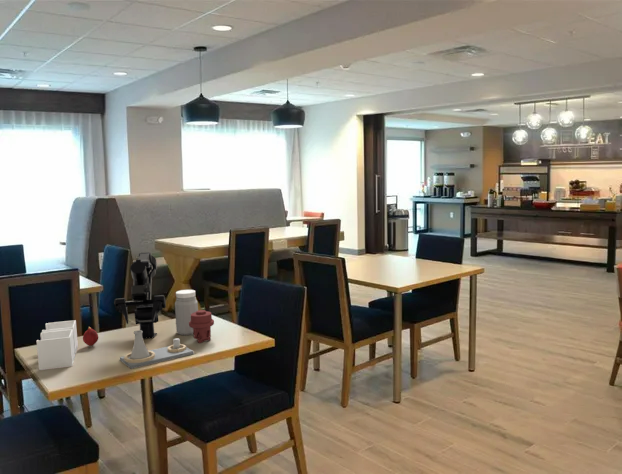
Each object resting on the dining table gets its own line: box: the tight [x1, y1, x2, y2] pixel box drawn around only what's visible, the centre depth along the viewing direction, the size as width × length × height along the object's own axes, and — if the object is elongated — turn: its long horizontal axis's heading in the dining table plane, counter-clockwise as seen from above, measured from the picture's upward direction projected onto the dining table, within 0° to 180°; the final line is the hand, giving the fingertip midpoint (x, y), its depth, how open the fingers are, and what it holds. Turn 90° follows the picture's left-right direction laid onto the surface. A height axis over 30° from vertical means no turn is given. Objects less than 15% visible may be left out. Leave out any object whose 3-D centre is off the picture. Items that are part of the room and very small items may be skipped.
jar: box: [174, 289, 199, 336], centre depth 242 cm, size 10×10×18 cm
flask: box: [130, 329, 150, 359], centre depth 207 cm, size 7×7×10 cm
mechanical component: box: [189, 309, 215, 344], centre depth 230 cm, size 12×10×10 cm
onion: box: [82, 326, 99, 347], centre depth 227 cm, size 6×6×8 cm
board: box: [119, 338, 194, 370], centre depth 212 cm, size 24×12×5 cm, turn 127°
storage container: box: [36, 319, 79, 371], centre depth 214 cm, size 25×11×11 cm, turn 18°
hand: (139, 322), depth 214 cm, fingers open, 9 cm apart
